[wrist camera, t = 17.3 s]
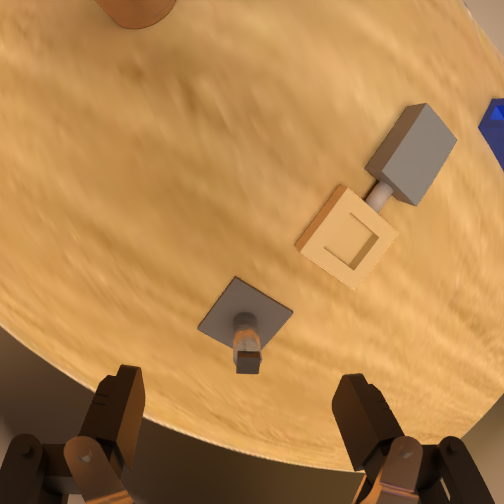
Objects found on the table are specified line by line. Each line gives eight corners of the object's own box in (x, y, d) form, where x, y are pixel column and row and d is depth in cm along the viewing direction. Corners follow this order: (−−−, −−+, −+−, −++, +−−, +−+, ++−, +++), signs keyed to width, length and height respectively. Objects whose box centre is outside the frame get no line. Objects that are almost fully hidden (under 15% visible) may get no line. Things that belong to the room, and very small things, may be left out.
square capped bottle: (233, 311, 41) (234, 354, 31) (258, 312, 41) (264, 355, 32) (232, 331, 42) (232, 375, 32) (255, 332, 42) (261, 376, 33)
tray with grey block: (347, 282, 41) (359, 298, 36) (294, 245, 39) (302, 258, 34) (442, 146, 35) (462, 147, 30) (399, 99, 33) (419, 94, 28)
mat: (197, 327, 42) (197, 329, 41) (235, 276, 40) (235, 277, 39) (252, 356, 44) (253, 358, 44) (292, 311, 42) (293, 313, 41)
